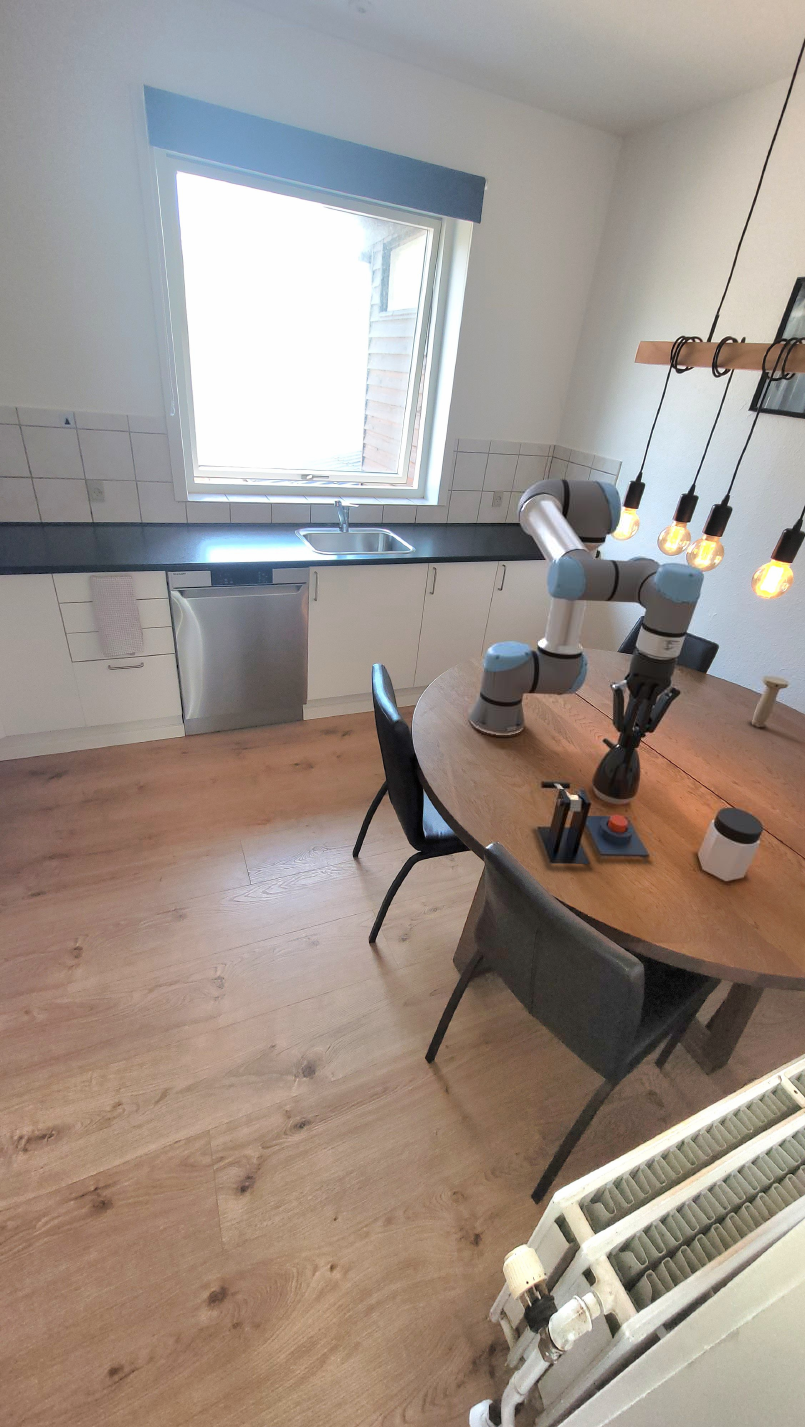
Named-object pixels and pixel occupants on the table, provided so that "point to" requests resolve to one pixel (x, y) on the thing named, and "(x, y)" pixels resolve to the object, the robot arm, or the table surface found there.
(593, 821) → the button block
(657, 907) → the table surface
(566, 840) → the lever stand
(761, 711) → the handle
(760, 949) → the table surface
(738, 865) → the jar
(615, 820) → the button
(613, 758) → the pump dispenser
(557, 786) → the tap lever
